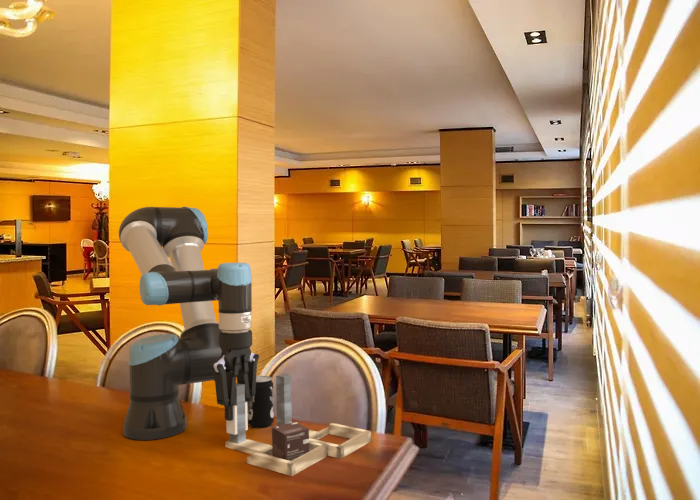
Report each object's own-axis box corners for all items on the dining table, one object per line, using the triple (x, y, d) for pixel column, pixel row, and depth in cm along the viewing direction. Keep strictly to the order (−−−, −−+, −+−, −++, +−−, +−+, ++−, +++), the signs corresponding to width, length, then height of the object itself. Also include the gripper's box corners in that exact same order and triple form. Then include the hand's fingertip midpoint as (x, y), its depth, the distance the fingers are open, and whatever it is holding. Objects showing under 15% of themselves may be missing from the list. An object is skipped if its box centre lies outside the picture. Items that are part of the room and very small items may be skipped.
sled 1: (211, 453, 129) (210, 390, 129) (250, 436, 139) (249, 378, 139) (291, 476, 116) (290, 406, 116) (327, 455, 127) (326, 391, 126)
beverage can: (268, 429, 144) (268, 382, 144) (244, 428, 145) (243, 381, 145) (277, 421, 151) (276, 375, 150) (253, 419, 152) (252, 374, 152)
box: (285, 469, 120) (284, 434, 119) (271, 460, 125) (271, 426, 124) (310, 462, 123) (309, 428, 123) (296, 453, 128) (295, 421, 128)
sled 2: (261, 438, 138) (260, 379, 137) (294, 424, 148) (293, 369, 148) (341, 458, 125) (340, 393, 125) (371, 441, 135) (370, 381, 135)
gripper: (222, 336, 124) (224, 445, 125) (270, 326, 137) (272, 424, 138) (198, 333, 128) (199, 438, 129) (247, 323, 141) (248, 418, 142)
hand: (237, 430), depth 133 cm, fingers closed on sled 1, 3 cm apart
